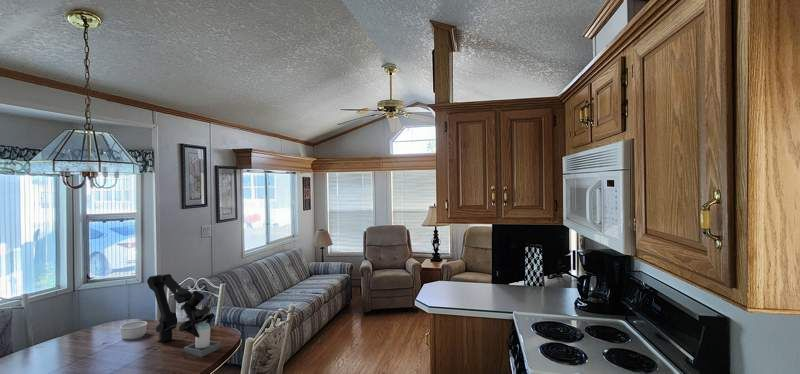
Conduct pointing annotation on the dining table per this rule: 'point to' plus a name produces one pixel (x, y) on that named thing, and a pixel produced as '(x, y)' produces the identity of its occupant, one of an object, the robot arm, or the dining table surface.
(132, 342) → the dining table surface
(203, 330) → the can
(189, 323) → the robot arm
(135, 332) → the ramekin
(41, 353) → the dining table surface
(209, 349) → the bin
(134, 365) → the dining table surface
